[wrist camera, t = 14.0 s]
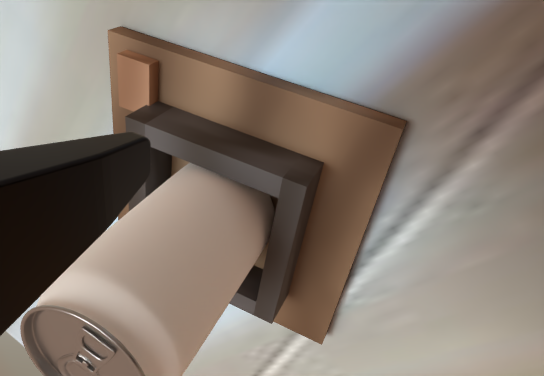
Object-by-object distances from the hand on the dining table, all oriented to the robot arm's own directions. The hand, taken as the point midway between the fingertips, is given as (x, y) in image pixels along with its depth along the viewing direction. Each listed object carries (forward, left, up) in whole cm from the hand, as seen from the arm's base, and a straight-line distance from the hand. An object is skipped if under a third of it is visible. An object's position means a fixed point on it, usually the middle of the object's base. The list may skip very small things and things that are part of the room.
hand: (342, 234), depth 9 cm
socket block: (+8, +11, -13) cm, 19 cm away
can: (+8, +11, -12) cm, 18 cm away
